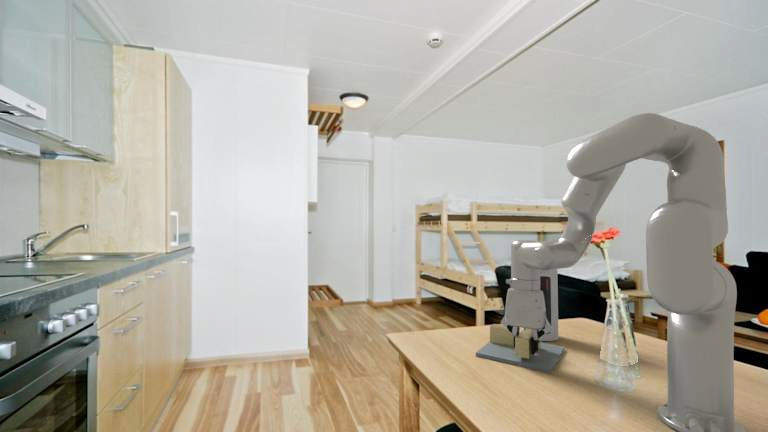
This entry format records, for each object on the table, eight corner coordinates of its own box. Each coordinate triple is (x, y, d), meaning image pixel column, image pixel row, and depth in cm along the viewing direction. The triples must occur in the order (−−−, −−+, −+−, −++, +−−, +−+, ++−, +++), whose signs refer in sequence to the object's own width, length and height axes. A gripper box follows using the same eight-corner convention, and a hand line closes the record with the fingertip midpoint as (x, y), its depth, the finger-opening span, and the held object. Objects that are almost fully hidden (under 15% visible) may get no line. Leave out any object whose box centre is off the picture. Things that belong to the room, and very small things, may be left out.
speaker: (520, 337, 120) (519, 259, 121) (529, 330, 129) (528, 256, 129) (554, 344, 114) (554, 261, 114) (561, 336, 122) (561, 258, 123)
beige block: (529, 358, 95) (529, 339, 96) (514, 355, 98) (514, 337, 98) (541, 344, 107) (541, 327, 107) (527, 341, 109) (527, 325, 109)
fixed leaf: (537, 352, 104) (537, 327, 104) (489, 342, 112) (489, 320, 112) (540, 348, 107) (540, 324, 107) (493, 339, 115) (493, 317, 115)
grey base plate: (551, 373, 92) (551, 369, 92) (475, 356, 104) (475, 352, 104) (564, 350, 109) (564, 346, 109) (497, 337, 120) (497, 334, 120)
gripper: (491, 283, 102) (491, 349, 102) (555, 290, 93) (556, 362, 92) (499, 280, 108) (499, 342, 108) (560, 286, 99) (561, 353, 98)
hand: (525, 350), depth 100 cm, fingers closed on beige block, 3 cm apart
